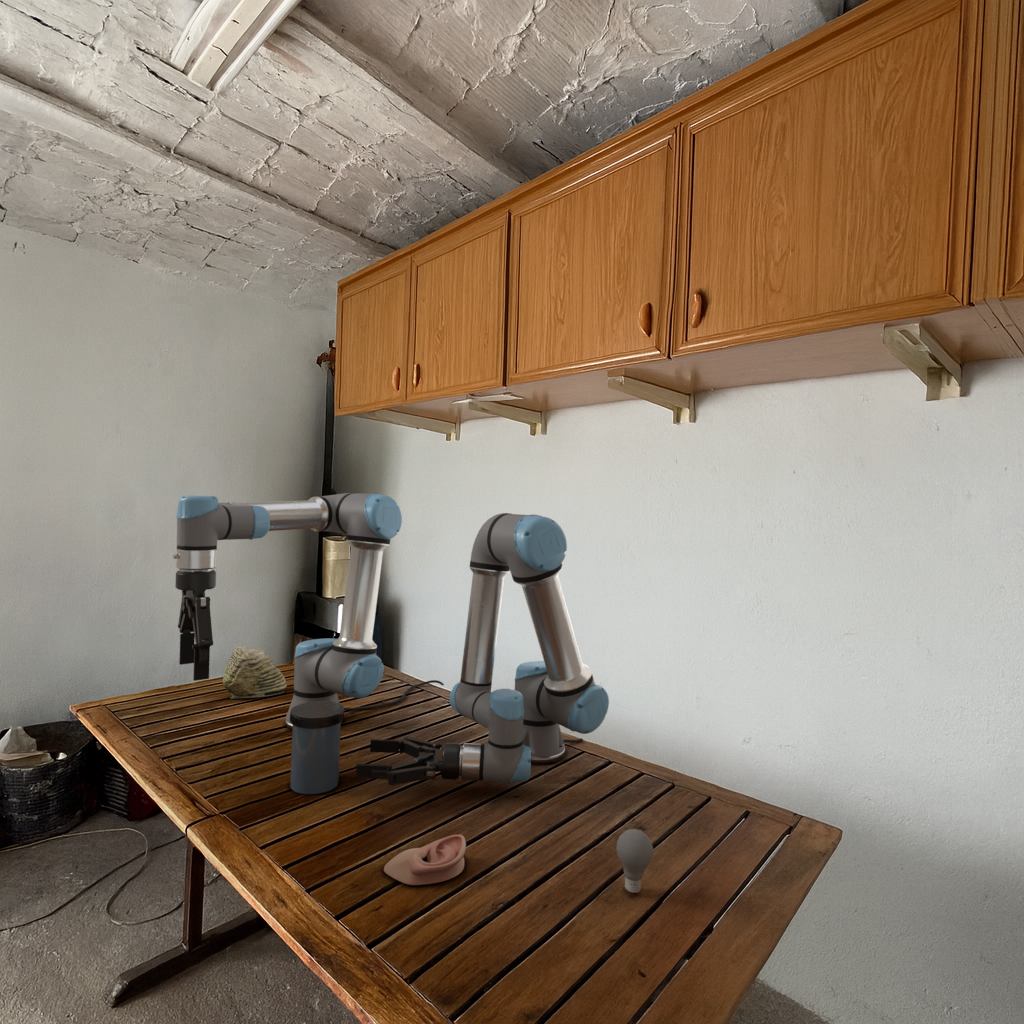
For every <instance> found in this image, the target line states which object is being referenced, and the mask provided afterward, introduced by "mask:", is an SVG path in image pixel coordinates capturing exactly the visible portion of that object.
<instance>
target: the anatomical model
mask: <svg viewBox="0 0 1024 1024" xmlns="http://www.w3.org/2000/svg"><path fill="white" fill-rule="evenodd" d="M466 851H467V841H466V838H465V836H464V835H463V834H452V835H448V836H445V837H442V838H439V839H437V840H435V841H432V842H430V843H428V844H426V845H424V846H421V847H412V848H409V849H405V850H403V851H402V852H400V853H398V854H395V856H394V857H392V858H391V859H390V860H389V861H387V863H386V864H385V865H384V867H383V872H384V873H385V874H386V875H387V876H389V877H390V878H392V879H394V880H395V881H398V882H400V883H402V884H405V885H407V886H408V885H409V886H422V885H431V884H437V883H441V882H445V881H448V880H450V879H453V878H455V877H457V876H458V875H460V874H461V873H462V872H463V870H464V868H465V857H464V856H465V854H466Z"/></svg>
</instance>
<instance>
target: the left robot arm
mask: <svg viewBox="0 0 1024 1024" xmlns="http://www.w3.org/2000/svg"><path fill="white" fill-rule="evenodd" d="M176 510H177V511H176V517H175V518H176V553H174V554H173V556H172V557H173V559H175V561H176V562H175V567H176V569H179V570H177V571H176V572H175V589H177V590H179V591H181V602H180V610H179V616H178V622H177V628H178V629H179V630H178V631H179V658H178V659H179V665H180V666H181V665H191V664H193V679H192V681H196V682H197V681H203V680H209V679H210V655H211V653H210V652H211V647H212V646H213V645H214V638H213V627H212V626H213V625H212V617H211V616H212V615H211V597H210V596H206V591H207V590H213V589H215V588H216V586H217V571H216V570H215V569H216V568H217V566H218V541H225V540H227V541H228V540H230V541H231V540H250V541H252V540H254V539H262V538H264V537H266V536H267V534H268V533H269V532H276V531H277V532H278V531H291V530H306V529H307V530H308V529H310V530H311V531H313V532H317V533H318V532H329V533H337V534H342V535H346V539H345V541H346V543H347V544H348V545H349V547H350V554H349V562H348V570H347V578H346V585H345V593H344V598H343V599H344V600H343V608H342V616H341V622H340V623H341V624H340V631H339V637H338V638H335V637H334V638H331V637H329V638H315V639H308V640H304V641H301V642H299V643H298V644H297V645H296V646H295V652H294V656H293V659H294V661H293V662H294V670H293V671H294V672H293V695H292V696H293V697H292V699H291V702H290V704H289V708H288V711H287V713H286V715H285V726H286V728H287V729H289V730H292V724H291V722H290V712H291V709H292V708H293V707H295V706H297V705H299V704H303V703H307V702H315V701H328V702H335V703H338V704H341V702H340V699H339V695H342V696H344V697H346V698H354V699H365V698H367V697H368V696H369V695H371V694H372V693H374V691H375V690H376V689H377V688H378V687H379V685H380V684H381V681H382V679H383V675H384V670H385V669H384V663H383V661H382V659H381V658H380V657H379V656H378V655H377V650H378V645H377V644H376V643H375V641H374V640H373V638H374V637H373V635H374V629H375V621H376V613H377V605H378V598H379V597H378V596H379V588H380V580H381V572H382V566H383V565H382V563H383V558H384V557H383V556H384V551H385V550H386V549H388V548H389V547H390V546H391V539H393V538H395V537H396V536H397V535H398V533H399V532H400V530H401V528H402V523H403V518H402V517H403V516H402V512H401V508H400V506H399V505H398V503H397V501H396V500H395V499H393V497H391V496H389V495H385V494H379V493H359V492H357V493H356V492H346V493H345V492H343V493H337V494H329V495H320V496H319V495H318V496H312V497H310V498H309V499H308V500H272V501H271V500H270V501H233V502H231V501H230V502H219V498H218V497H217V496H215V495H198V494H197V495H193V494H186V495H182V496H180V497H179V499H178V503H177V509H176ZM433 683H436V684H439V685H441V686H445V684H444V683H443V681H440V680H436V679H433V680H427V681H423V682H420V683H417V684H414V685H412V686H410V687H408V688H407V689H406V691H405V692H404V693H403V694H402V696H401V697H400V698H398V699H396V700H395V699H394V700H393V701H388V702H385V703H379V704H374V705H367V706H358V707H344V711H361V710H362V711H363V710H370V709H375V708H376V709H377V708H382V707H386V706H390V705H393V704H397V703H399V702H401V701H402V700H403V699H405V698H406V696H407V694H409V692H410V691H411V690H413V689H415V688H418V687H421V686H424V685H429V684H433ZM338 694H339V695H338ZM343 722H344V719H343V720H342V721H341V724H342V723H343Z"/></svg>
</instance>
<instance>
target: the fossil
mask: <svg viewBox="0 0 1024 1024" xmlns="http://www.w3.org/2000/svg"><path fill="white" fill-rule="evenodd" d="M222 676H223V677H222V685H223V687H224V688H225V690H226V691H228V693H229V698H230V699H250V698H264V697H271V696H275V695H281V694H284V693H285V691H286V689H287V687H288V686H287V680H286V678H285V676H284V674H283V673H282V672H281V669H279V668H278V667H277V665H276V663H275V662H274V660H273V659H272V658H271V657H270V656H269V655H268V654H267V653H266V652H265V650H264V649H263V648H260V647H258V648H251V647H247V646H246V647H245V646H238V647H237V648H236V649H235V650H233V651H232V653H231V656H230V657H229V659H228V660H227V663H226V666H225V668H224V671H223V675H222Z"/></svg>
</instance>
